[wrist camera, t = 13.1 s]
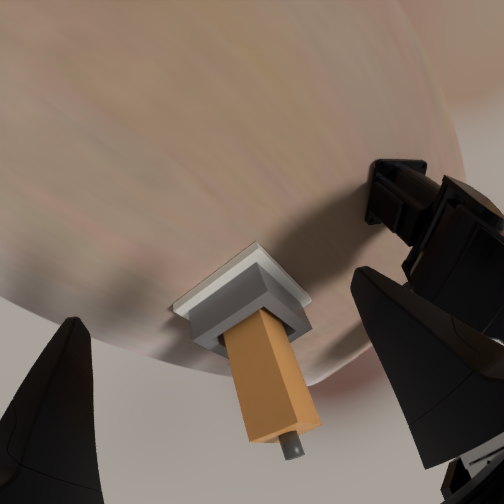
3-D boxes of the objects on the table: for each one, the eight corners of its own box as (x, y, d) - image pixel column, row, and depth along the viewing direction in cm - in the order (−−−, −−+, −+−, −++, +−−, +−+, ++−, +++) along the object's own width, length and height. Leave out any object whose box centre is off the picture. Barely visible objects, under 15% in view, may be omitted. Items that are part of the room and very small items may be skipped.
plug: (251, 286, 25) (307, 448, 14) (274, 305, 28) (330, 446, 16) (218, 309, 26) (256, 466, 15) (243, 325, 28) (285, 463, 17)
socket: (255, 241, 23) (271, 276, 20) (308, 294, 30) (325, 326, 26) (173, 303, 26) (175, 341, 22) (237, 341, 32) (245, 373, 28)
